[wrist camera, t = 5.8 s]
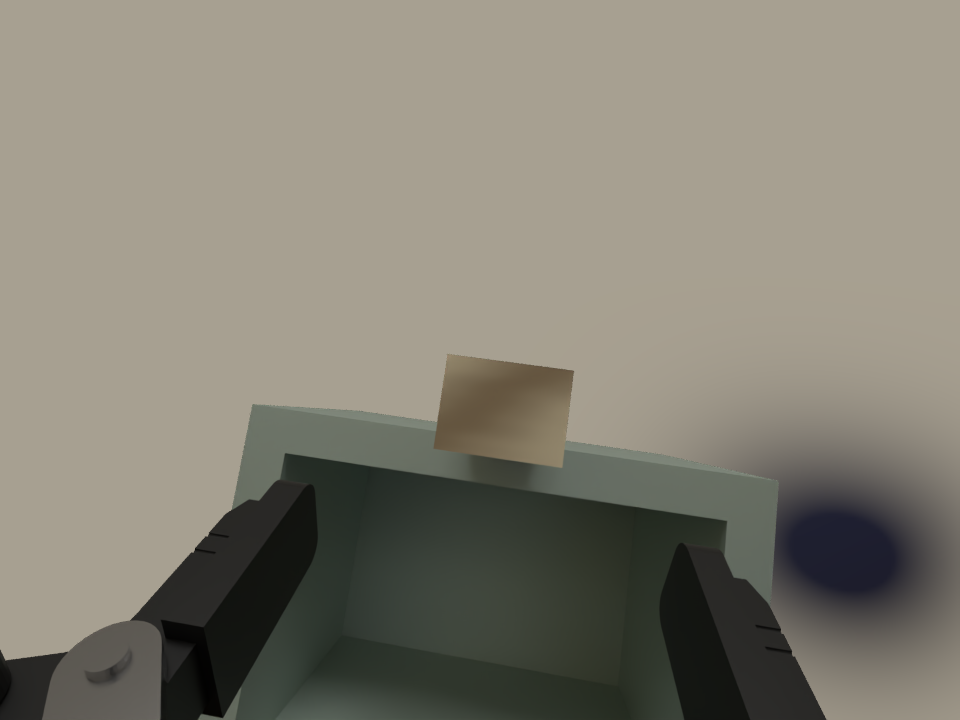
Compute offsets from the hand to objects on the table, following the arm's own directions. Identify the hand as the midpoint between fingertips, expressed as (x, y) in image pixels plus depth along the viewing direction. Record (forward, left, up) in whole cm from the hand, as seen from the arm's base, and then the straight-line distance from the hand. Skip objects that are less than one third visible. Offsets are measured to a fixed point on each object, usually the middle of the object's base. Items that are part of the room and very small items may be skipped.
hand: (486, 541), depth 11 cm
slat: (0, -14, +2) cm, 14 cm away
